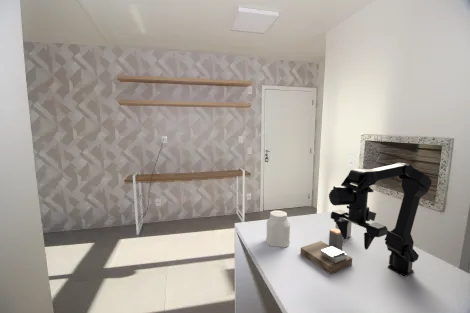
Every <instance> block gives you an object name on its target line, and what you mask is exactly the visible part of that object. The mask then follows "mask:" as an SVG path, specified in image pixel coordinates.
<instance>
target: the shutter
mask: <svg viewBox="0 0 470 313" xmlns="http://www.w3.org/2000/svg"><path fill="white" fill-rule="evenodd" d="M321 255H322V256H324V257H325V258H327V259H329V260H330V261H332V262H334V263H337V262H340V261H342V260H345V259H347V256H348V254H347V253H346V251H344V250H338V249H336V248H335V247H333V246H331V247H328V248H325V249H323V250H321Z"/></svg>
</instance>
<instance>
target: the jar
mask: <svg viewBox="0 0 470 313" xmlns="http://www.w3.org/2000/svg"><path fill="white" fill-rule="evenodd" d="M269 214H270V215H269V218H268V219H267V220H266V237H265V239H266V240H265V241H266V244H267V245H269V246H270V247H277V248H287V247H289V246H290V244H291V241H290V237H291V236H290V234H291V222H290V221H289V219H288V212H286V211H284V210H272V211H270V213H269Z"/></svg>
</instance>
